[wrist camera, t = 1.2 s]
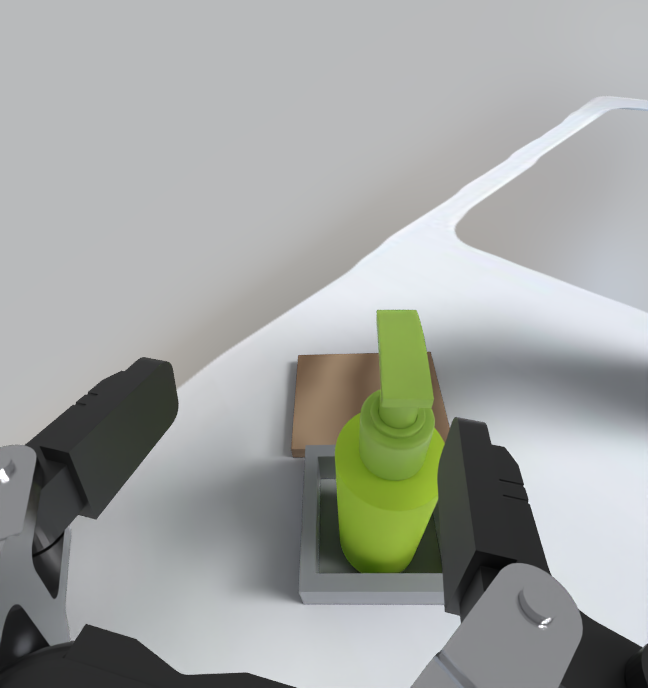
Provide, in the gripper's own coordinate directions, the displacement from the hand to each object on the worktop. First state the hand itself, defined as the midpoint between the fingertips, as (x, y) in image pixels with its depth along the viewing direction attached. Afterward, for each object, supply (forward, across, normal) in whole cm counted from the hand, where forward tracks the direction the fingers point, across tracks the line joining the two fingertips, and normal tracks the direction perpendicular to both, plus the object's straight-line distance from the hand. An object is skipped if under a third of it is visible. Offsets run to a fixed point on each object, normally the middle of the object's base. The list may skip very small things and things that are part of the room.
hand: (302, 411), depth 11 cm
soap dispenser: (+11, -4, +20) cm, 23 cm away
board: (+21, -2, +17) cm, 28 cm away
